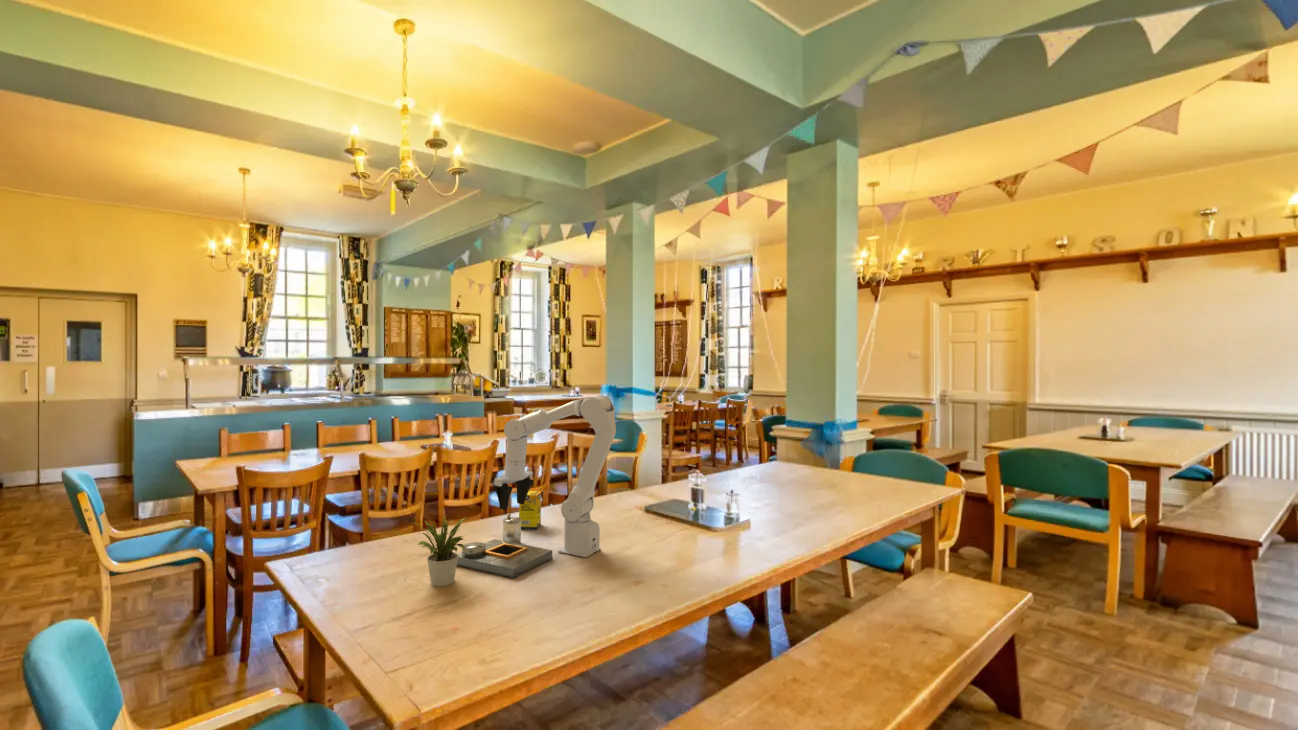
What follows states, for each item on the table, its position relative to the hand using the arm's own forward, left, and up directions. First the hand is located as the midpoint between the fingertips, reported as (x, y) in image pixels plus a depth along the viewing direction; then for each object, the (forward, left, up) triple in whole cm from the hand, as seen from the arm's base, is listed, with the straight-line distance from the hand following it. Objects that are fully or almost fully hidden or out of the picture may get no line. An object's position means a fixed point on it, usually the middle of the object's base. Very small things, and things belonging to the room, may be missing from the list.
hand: (512, 506), depth 171 cm
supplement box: (+6, -16, -11) cm, 20 cm away
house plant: (-4, +32, -11) cm, 34 cm away
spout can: (0, 0, -11) cm, 11 cm away
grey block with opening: (-8, +13, -11) cm, 19 cm away
